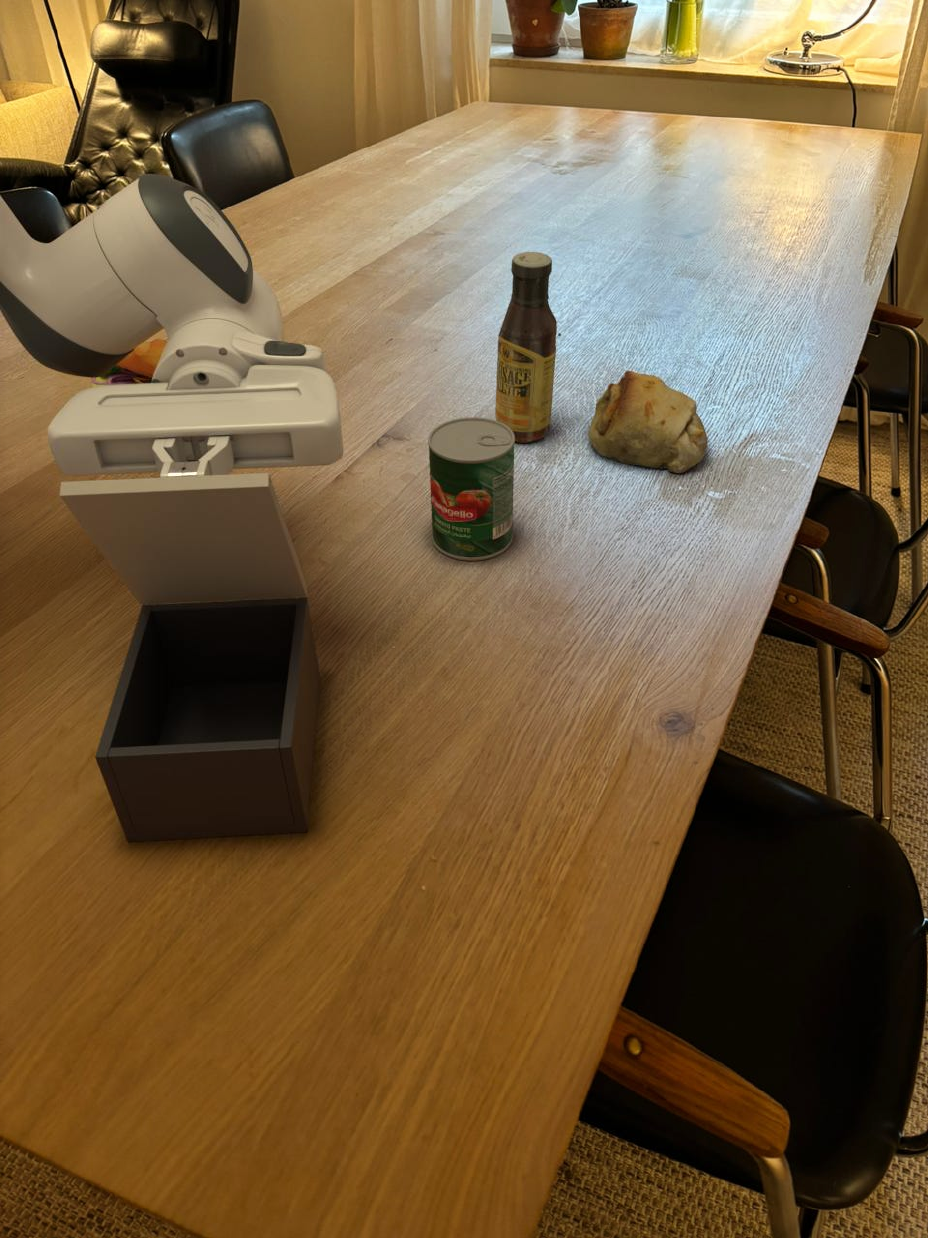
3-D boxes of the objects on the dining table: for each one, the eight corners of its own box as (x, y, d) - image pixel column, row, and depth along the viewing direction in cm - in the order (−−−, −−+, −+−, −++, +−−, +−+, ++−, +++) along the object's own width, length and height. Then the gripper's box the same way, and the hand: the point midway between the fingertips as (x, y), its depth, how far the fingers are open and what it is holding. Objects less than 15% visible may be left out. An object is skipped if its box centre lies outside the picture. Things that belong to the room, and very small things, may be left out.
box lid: (268, 486, 60) (269, 472, 60) (58, 496, 60) (60, 481, 60) (306, 596, 75) (306, 584, 76) (140, 604, 75) (141, 592, 75)
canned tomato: (426, 558, 94) (420, 457, 87) (438, 512, 100) (434, 414, 93) (509, 564, 93) (510, 462, 86) (517, 517, 99) (519, 418, 92)
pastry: (565, 427, 113) (569, 361, 108) (662, 406, 116) (670, 341, 111) (624, 489, 103) (631, 420, 98) (728, 464, 106) (740, 396, 101)
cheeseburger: (73, 408, 118) (70, 324, 113) (156, 399, 125) (156, 320, 120) (112, 438, 112) (110, 350, 107) (197, 427, 119) (199, 344, 114)
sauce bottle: (484, 430, 113) (483, 255, 100) (524, 412, 116) (528, 240, 103) (523, 452, 109) (527, 273, 96) (564, 433, 112) (573, 257, 99)
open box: (307, 832, 70) (291, 747, 64) (127, 842, 69) (94, 757, 64) (320, 679, 82) (307, 596, 76) (166, 687, 81) (142, 604, 76)
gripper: (64, 356, 73) (8, 451, 63) (342, 345, 74) (332, 438, 63) (87, 431, 77) (38, 533, 67) (349, 421, 78) (342, 520, 67)
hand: (184, 487), depth 65 cm, fingers closed
